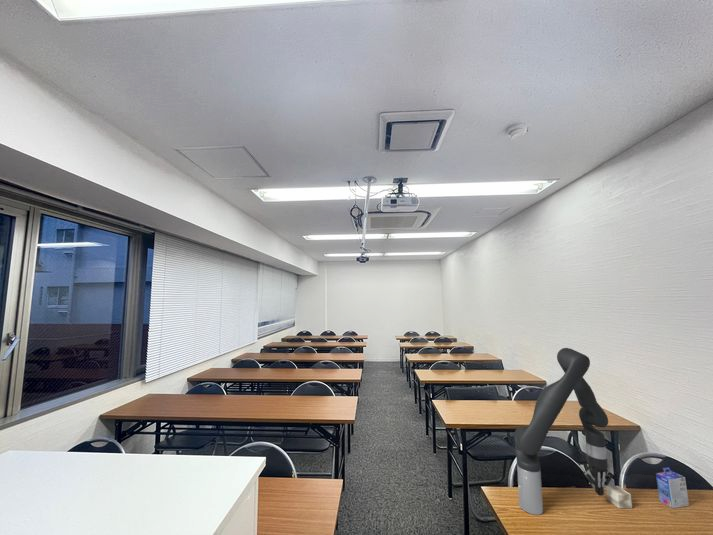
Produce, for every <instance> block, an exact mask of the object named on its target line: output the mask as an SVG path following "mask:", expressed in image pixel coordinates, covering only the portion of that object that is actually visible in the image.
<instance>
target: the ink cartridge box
mask: <svg viewBox="0 0 713 535" xmlns="http://www.w3.org/2000/svg"><path fill="white" fill-rule="evenodd" d="M662 470H663V471H662V472H656V473H655V476H656V478H655V479H656V483H657V491H658V498H659V502H661V503H662V504H664V505H666V506H668V507H669V508H671V509H675V508H676V509H677V508H682V507H688V506H690V503H689V497H688V496H689V495H688V491H687V490H688V489H687V482H686V477H685V476H684V475H682V474H680V473H677V472H675V471H673V470H671V468H670V467H669V466H668V467H662ZM667 470H668V471H667Z"/></svg>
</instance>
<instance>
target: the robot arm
mask: <svg viewBox="0 0 713 535" xmlns="http://www.w3.org/2000/svg"><path fill="white" fill-rule="evenodd" d="M556 360H557V363H558V364H559V366H560V367H561V370H562V371H563V373H564V374H563V376H561V377H560V379H558V380H557V381H554V382H552V383H551V384H548V385H546V386H545V387H544V388H543V389H542V391H540V392H541V393H540V394H539V395H538V398H537V399H536V401H535V402H536V403H535V405H534V410H533V415H532V419H531V420H530V422H529V424H528V426H519V427H517V428H516V429H515V431H514V435H513V437H514V438H513V439H514V451H515V452H514V453H515V459H516V468H517V469H516V470H517V485H518V486H517V488H518V491H517V492H518V503H519V504H518V506H519V509H520V510H523V511H525V512H526V513H528V514H531V515H534V516H535V515H536V516H539V515H542V514H543V513H544V505H543V489H542V488H543V487H542V472H541V470H542V469H541V462H540V460H539V454H538V453H539V452H540V451H541V449H542V447H543V444H544V442H545V440H546V437H547V435H548V433H549V431H550V429H551V428H552V426H553V425H554V423H555V420H556V419H557V418H558V416H559V415H560V413H561V411H562V410H563V408H564V406H565V404H566V403H567V401H568V399H569V397H570V395H571V394H572V392H573V391H574V394H575V397H576V399H577V402H578V404H579V406H580V407H581V408H580V409H579V411H578V417H579V420H580V423H581V424H582V427H583V429H584V435H585V453H586V464H588V465H587V466H588V467H587V471H583V475H584V476H585V478H586V479H587V480H588V482H589V483H590V484H591V485H593V486H594V491H595V493H596V494H597V495H598V496H599V497H603V496H604V494H605V491H604V490H605V487H606V486H609V484H610V482H611V480H612V478H614V473H612V472H610V471H609V469H608V467H609V464H608V454H607V453H608V452H607V448H606V441H605V440H606V438H605V434H604V432H602V431H600V430H599V429H597V428H596V427H598V428H603V429H604V428H607V426H608V425H609V419H608V415H607V413H606V412H605V411H604V409H603V407H602V406H601V405H600V404H599V402H598V401H597V398H596V395H595V393H594V391H593V389H592V387H591V385H589V383H588V382H587V381H586V379H585V378H584V376H585V375H586V373H587V372H588V371H589V368H590V365H591V361H590V358H589V356H587V355H586V354H583V353H582V352H579V351H578V350H577V351H576V350H575V349H573V348H569V347H562V348H561V349H560V350H559V351H558V352H557V353H556Z"/></svg>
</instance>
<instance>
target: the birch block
mask: <svg viewBox="0 0 713 535" xmlns="http://www.w3.org/2000/svg"><path fill="white" fill-rule="evenodd" d="M605 490H606V501H608V502H609V501H610V502H609V503H611V505H613V504H614V505H613V506H615V507H616V508H617V509H618V510H629V509H633V504H632V495H631V493H629V492H628V491H626V490H625V489H624V488H622V487H621V486H619V485H611V486H610V485H607V486H606V485H605Z"/></svg>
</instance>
